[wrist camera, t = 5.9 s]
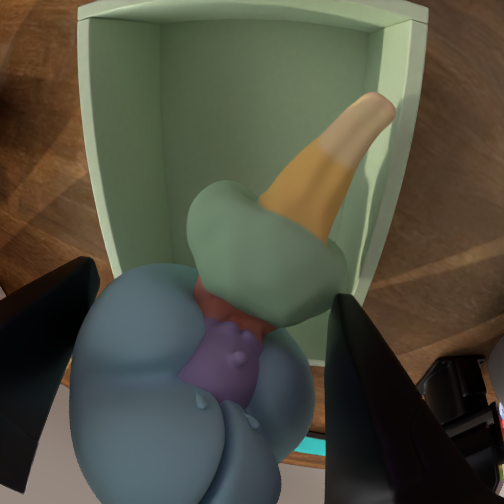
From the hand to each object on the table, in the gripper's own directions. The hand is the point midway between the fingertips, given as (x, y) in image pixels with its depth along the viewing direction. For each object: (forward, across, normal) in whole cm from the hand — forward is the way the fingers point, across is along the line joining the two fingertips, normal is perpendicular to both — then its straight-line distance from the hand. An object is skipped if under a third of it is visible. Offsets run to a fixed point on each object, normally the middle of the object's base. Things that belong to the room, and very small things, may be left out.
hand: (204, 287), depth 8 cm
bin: (+10, 0, 0) cm, 10 cm away
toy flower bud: (+3, -1, 0) cm, 3 cm away
